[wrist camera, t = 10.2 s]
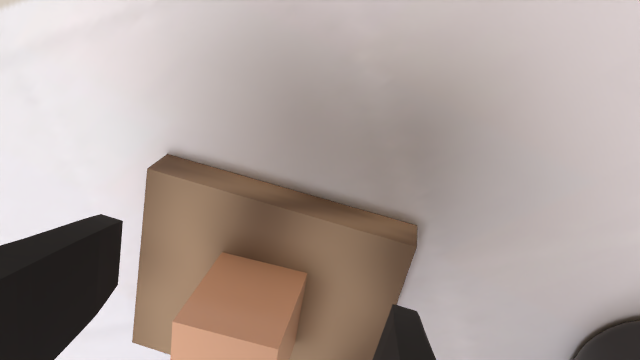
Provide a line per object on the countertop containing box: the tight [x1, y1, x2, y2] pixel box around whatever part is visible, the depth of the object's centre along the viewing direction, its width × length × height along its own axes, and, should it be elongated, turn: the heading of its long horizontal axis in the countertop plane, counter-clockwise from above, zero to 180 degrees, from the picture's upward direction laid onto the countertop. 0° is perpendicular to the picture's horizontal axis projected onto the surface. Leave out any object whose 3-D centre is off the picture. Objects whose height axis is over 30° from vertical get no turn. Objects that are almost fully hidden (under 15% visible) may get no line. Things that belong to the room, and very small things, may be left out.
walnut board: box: [132, 154, 417, 360], centre depth 25 cm, size 12×10×2 cm
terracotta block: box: [170, 252, 308, 360], centre depth 21 cm, size 4×4×5 cm
